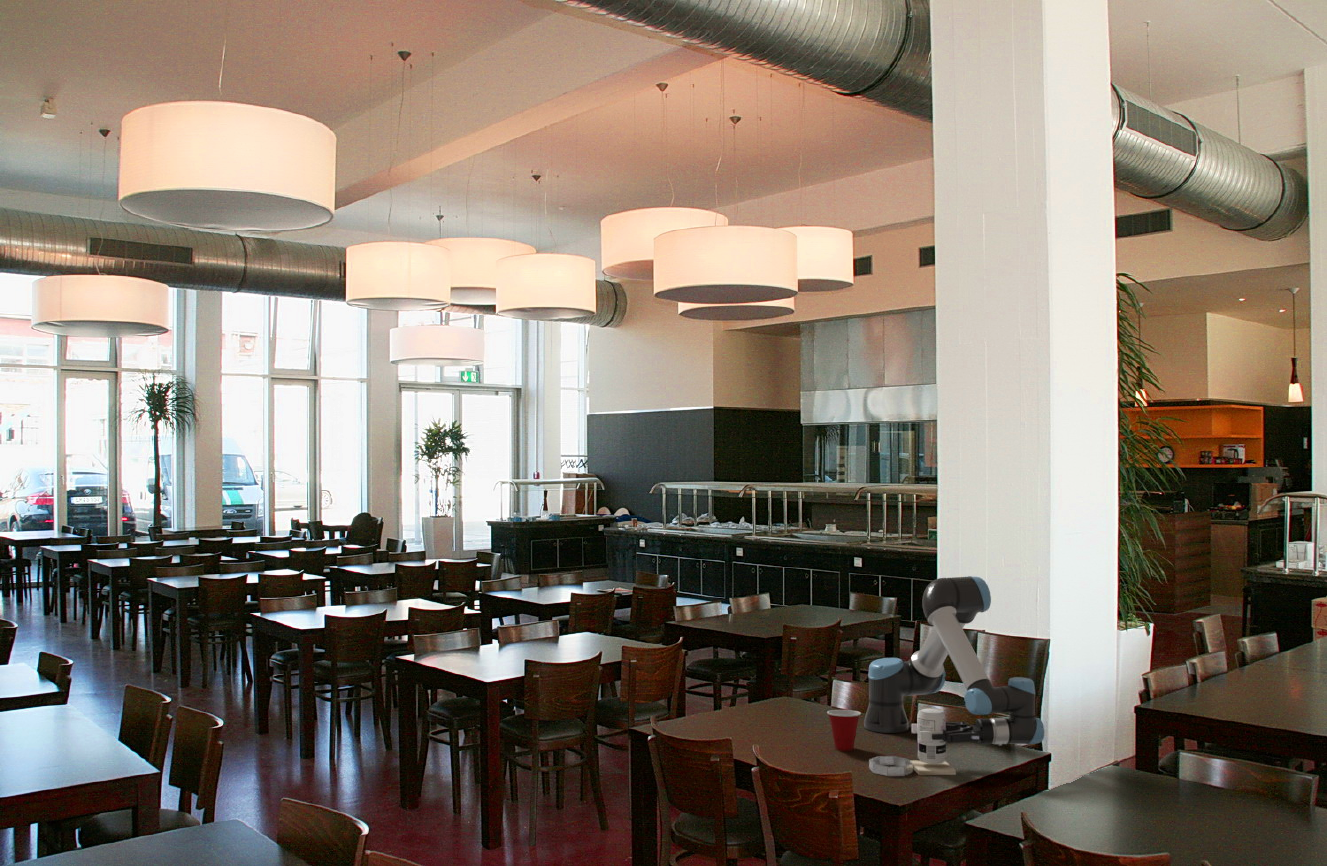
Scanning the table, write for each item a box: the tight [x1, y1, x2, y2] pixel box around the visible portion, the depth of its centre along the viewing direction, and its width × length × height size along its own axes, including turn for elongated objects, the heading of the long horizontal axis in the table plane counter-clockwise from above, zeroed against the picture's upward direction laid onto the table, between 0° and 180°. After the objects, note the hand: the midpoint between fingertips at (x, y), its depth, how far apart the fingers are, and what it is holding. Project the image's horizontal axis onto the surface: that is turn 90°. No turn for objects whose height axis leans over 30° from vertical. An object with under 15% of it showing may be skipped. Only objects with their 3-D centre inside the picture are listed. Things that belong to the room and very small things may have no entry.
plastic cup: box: [826, 709, 862, 752], centre depth 337 cm, size 11×11×12 cm
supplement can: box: [916, 707, 947, 764], centre depth 314 cm, size 8×8×15 cm
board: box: [909, 759, 957, 776], centre depth 313 cm, size 11×11×1 cm
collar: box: [868, 755, 914, 777], centre depth 313 cm, size 12×12×2 cm
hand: (916, 732), depth 314 cm, fingers closed on supplement can, 8 cm apart
